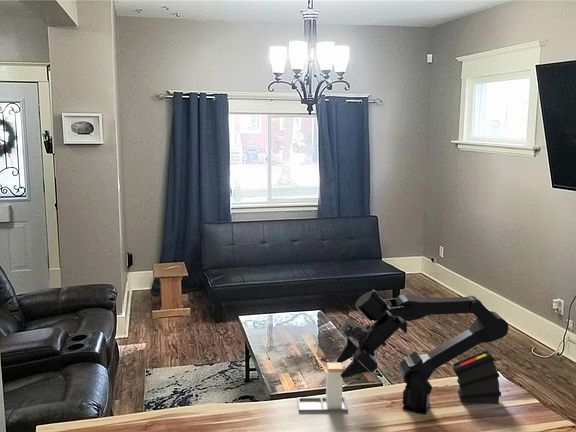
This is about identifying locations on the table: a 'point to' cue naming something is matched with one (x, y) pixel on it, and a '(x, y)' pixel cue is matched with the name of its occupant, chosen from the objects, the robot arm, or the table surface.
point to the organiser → (317, 405)
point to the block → (334, 386)
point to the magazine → (478, 379)
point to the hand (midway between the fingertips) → (339, 369)
